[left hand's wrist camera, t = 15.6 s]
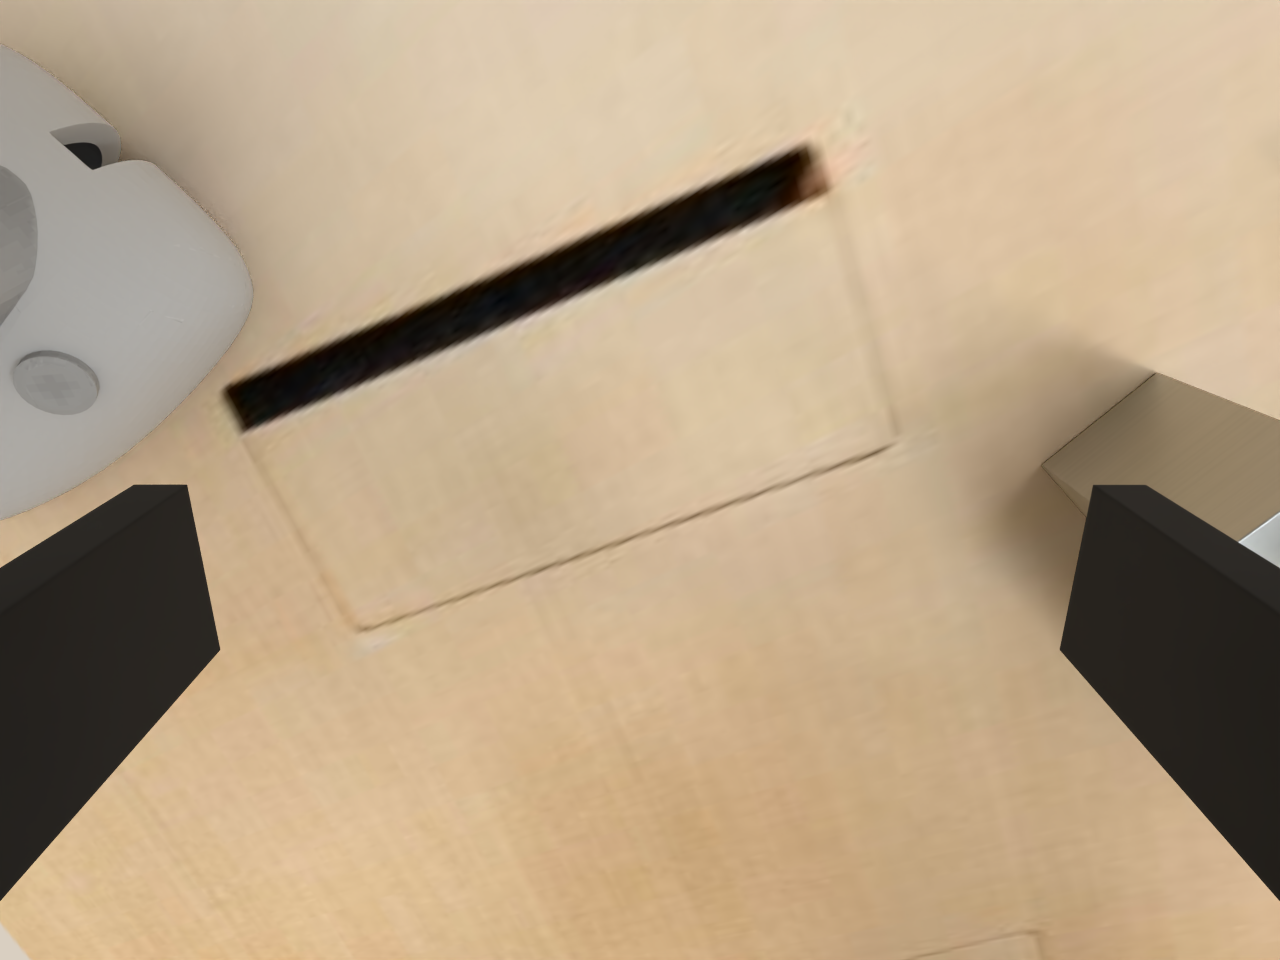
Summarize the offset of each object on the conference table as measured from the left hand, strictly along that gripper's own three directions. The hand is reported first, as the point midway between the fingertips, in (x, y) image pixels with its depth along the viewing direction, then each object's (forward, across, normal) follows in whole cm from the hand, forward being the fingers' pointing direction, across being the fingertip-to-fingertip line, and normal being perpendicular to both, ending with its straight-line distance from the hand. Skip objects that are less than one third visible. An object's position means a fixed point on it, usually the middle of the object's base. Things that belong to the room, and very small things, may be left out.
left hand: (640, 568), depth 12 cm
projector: (+31, -30, -2) cm, 43 cm away
